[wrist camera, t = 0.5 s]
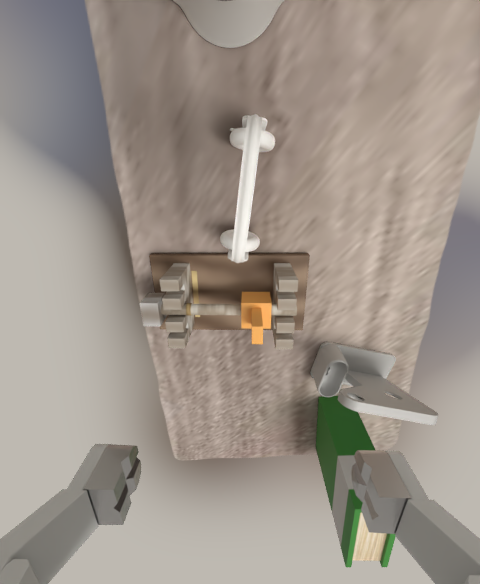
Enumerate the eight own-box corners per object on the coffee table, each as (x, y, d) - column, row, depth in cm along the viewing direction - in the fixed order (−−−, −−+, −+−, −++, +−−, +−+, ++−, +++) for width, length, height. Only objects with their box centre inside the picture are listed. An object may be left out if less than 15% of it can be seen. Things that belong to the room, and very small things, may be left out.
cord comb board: (152, 253, 52) (130, 270, 42) (307, 253, 51) (321, 270, 42) (162, 325, 58) (144, 354, 49) (301, 326, 58) (311, 356, 48)
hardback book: (344, 446, 71) (387, 567, 49) (315, 447, 72) (345, 567, 50) (349, 395, 65) (403, 508, 43) (318, 396, 65) (355, 509, 43)
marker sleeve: (241, 291, 49) (240, 320, 39) (269, 291, 49) (275, 321, 39) (242, 315, 51) (240, 349, 41) (268, 315, 50) (273, 349, 40)
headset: (256, 250, 51) (260, 284, 35) (219, 245, 51) (206, 277, 35) (274, 129, 44) (290, 101, 27) (231, 123, 43) (220, 91, 27)
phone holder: (307, 375, 63) (328, 446, 46) (321, 339, 59) (349, 403, 42) (378, 388, 64) (424, 462, 47) (396, 353, 60) (453, 421, 43)
